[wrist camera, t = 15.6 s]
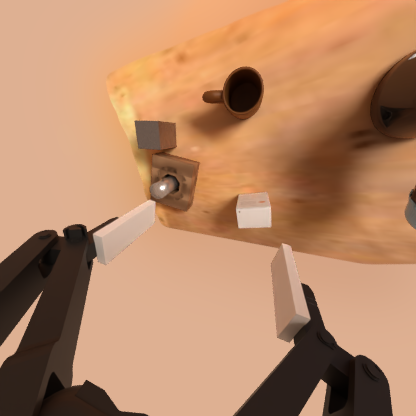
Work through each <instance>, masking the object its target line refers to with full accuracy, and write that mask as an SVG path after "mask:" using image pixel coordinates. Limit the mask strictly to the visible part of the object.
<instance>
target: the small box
mask: <svg viewBox="0 0 416 416" xmlns="http://www.w3.org/2000/svg"><path fill="white" fill-rule="evenodd" d="M236 214H237V221H238V228H265V227H271V205H270V202H269V198H268V194H267V192H260V193H250V194H239V196H238V201H237V205H236Z"/></svg>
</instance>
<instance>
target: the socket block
mask: <svg viewBox="0 0 416 416" xmlns="http://www.w3.org/2000/svg"><path fill="white" fill-rule="evenodd" d="M199 163H200V162H196V161H192V160H189V159H185V158H181V157H177V156H174V155H170V154H166V153H163V152H161V153H156V154H152V177H151V185H152V184H154V183H156V182H158V181H160V180H162V179H164V178H166V177H169V176H170V175H173V176H175V177H176V178H177V180H178V181H179V183H180V187H179V189H178V188H176V189H175V190H173V191H172V192H170V193H169V194H167V195H166V196H164V197H163V198H161V199H156V198H154V197H153V196H152V195H151V200H152V201H155V202H158V203H161V204H164V205H167V206H171V207H174V208H177V209H180V210H183V211H186V212H187V210H188V209H189V208H190V207H191V206H192V203H193V197H194V192H195V186H196V180H197V175H198V169H199Z"/></svg>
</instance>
